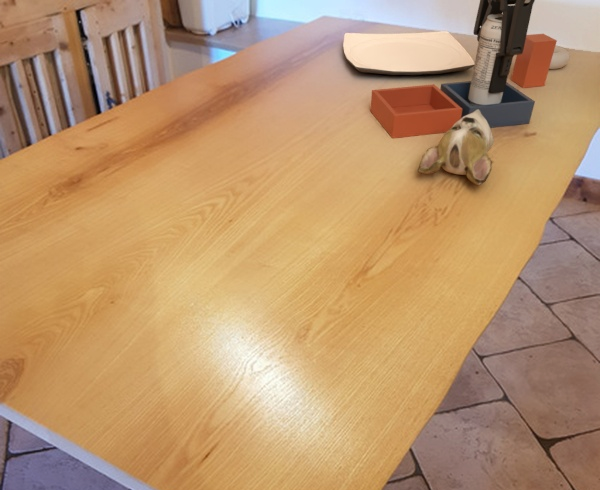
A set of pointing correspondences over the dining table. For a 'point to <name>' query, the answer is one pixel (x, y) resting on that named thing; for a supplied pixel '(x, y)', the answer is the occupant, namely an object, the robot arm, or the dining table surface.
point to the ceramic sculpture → (462, 150)
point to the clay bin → (414, 110)
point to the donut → (559, 58)
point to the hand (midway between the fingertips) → (487, 85)
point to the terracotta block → (534, 61)
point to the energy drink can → (486, 63)
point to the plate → (406, 53)
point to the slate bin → (506, 113)
